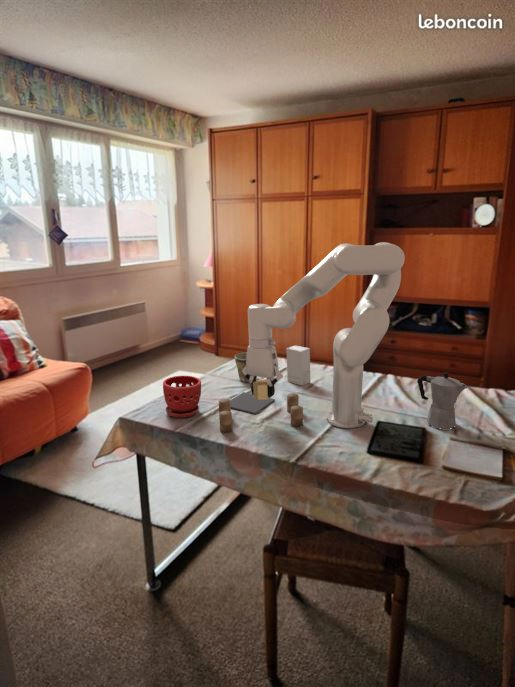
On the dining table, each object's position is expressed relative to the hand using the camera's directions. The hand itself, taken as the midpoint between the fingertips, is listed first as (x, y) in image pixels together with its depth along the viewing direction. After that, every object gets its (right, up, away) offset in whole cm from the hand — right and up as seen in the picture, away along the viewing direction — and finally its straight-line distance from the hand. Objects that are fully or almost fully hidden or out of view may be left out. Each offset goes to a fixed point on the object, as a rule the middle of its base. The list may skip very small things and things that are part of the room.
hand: (262, 394), depth 152 cm
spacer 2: (-12, -11, -4) cm, 17 cm away
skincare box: (+15, +1, +37) cm, 40 cm away
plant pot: (-28, -8, +10) cm, 30 cm away
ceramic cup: (-6, +1, +41) cm, 41 cm away
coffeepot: (+58, -10, -1) cm, 59 cm away
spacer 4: (+11, -10, -1) cm, 15 cm away
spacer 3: (+11, -7, +10) cm, 16 cm away
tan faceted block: (0, -1, 0) cm, 1 cm away
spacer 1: (-13, -8, +5) cm, 16 cm away
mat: (-5, -5, +16) cm, 18 cm away
